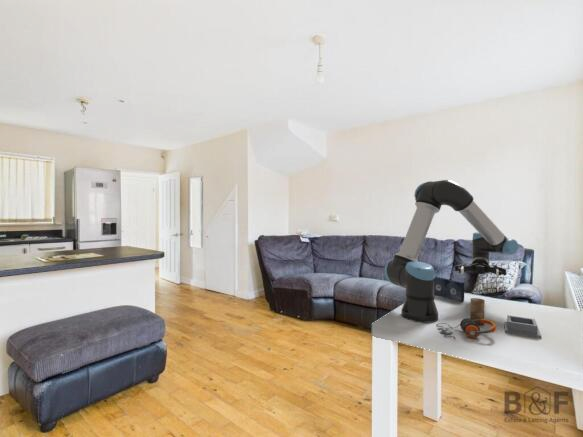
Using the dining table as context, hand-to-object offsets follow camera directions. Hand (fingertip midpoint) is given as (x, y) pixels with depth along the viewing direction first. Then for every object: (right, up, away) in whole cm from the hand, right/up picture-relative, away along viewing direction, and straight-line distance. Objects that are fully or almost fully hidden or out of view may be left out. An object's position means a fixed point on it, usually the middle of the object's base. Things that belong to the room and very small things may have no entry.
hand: (479, 273), depth 142 cm
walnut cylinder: (-5, -20, -8) cm, 22 cm away
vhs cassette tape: (+1, -19, +32) cm, 37 cm away
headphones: (-16, -20, -19) cm, 32 cm away
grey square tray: (+7, -20, -16) cm, 26 cm away
